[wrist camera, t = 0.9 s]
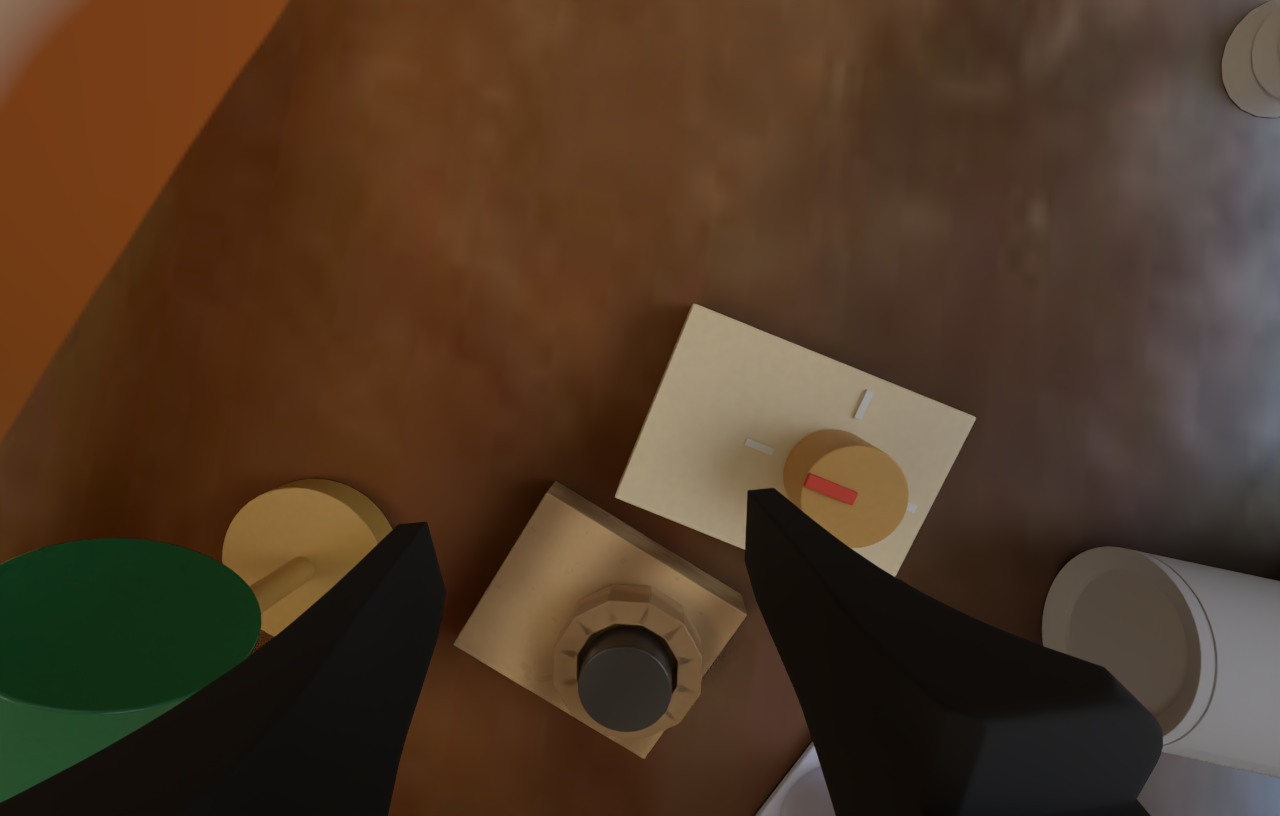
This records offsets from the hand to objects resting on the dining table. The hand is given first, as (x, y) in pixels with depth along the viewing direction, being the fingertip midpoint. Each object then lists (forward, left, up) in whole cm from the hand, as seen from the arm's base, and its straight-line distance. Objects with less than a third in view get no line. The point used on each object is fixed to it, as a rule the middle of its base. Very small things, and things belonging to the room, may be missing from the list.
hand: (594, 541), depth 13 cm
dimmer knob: (-9, -3, -14) cm, 17 cm away
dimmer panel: (-7, -3, -17) cm, 18 cm away
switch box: (-4, +10, -17) cm, 20 cm away
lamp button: (-6, +10, -13) cm, 18 cm away
